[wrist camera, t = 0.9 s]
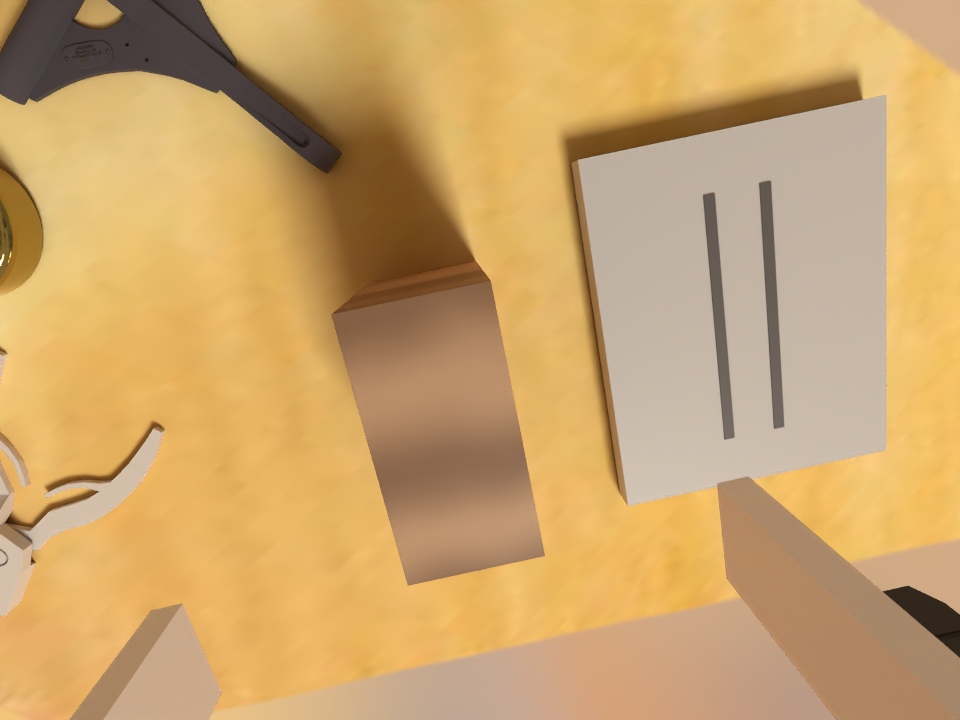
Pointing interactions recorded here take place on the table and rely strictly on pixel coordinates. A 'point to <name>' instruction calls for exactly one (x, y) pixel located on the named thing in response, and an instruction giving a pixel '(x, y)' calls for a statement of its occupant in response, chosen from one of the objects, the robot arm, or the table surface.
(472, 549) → the block
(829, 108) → the board
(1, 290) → the brass door knob
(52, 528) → the pliers
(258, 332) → the table surface
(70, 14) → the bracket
